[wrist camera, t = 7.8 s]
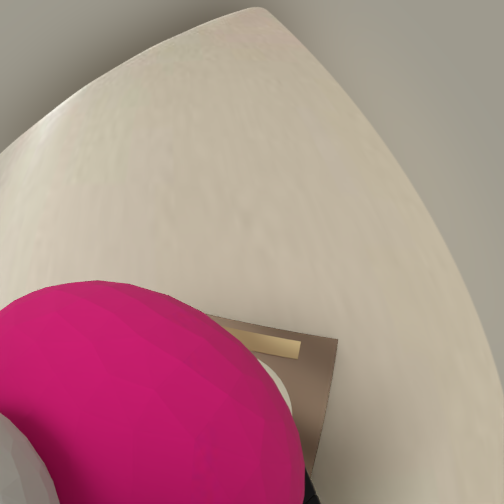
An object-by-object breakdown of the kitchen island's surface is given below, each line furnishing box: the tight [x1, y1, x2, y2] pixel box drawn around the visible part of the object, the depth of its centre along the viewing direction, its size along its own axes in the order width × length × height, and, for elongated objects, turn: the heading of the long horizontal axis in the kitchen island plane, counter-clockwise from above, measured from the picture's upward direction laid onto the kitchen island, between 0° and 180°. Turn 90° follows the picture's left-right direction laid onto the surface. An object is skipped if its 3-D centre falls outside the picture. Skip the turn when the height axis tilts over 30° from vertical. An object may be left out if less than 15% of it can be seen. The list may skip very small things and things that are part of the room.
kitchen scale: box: [206, 314, 338, 477], centre depth 19 cm, size 13×13×1 cm
